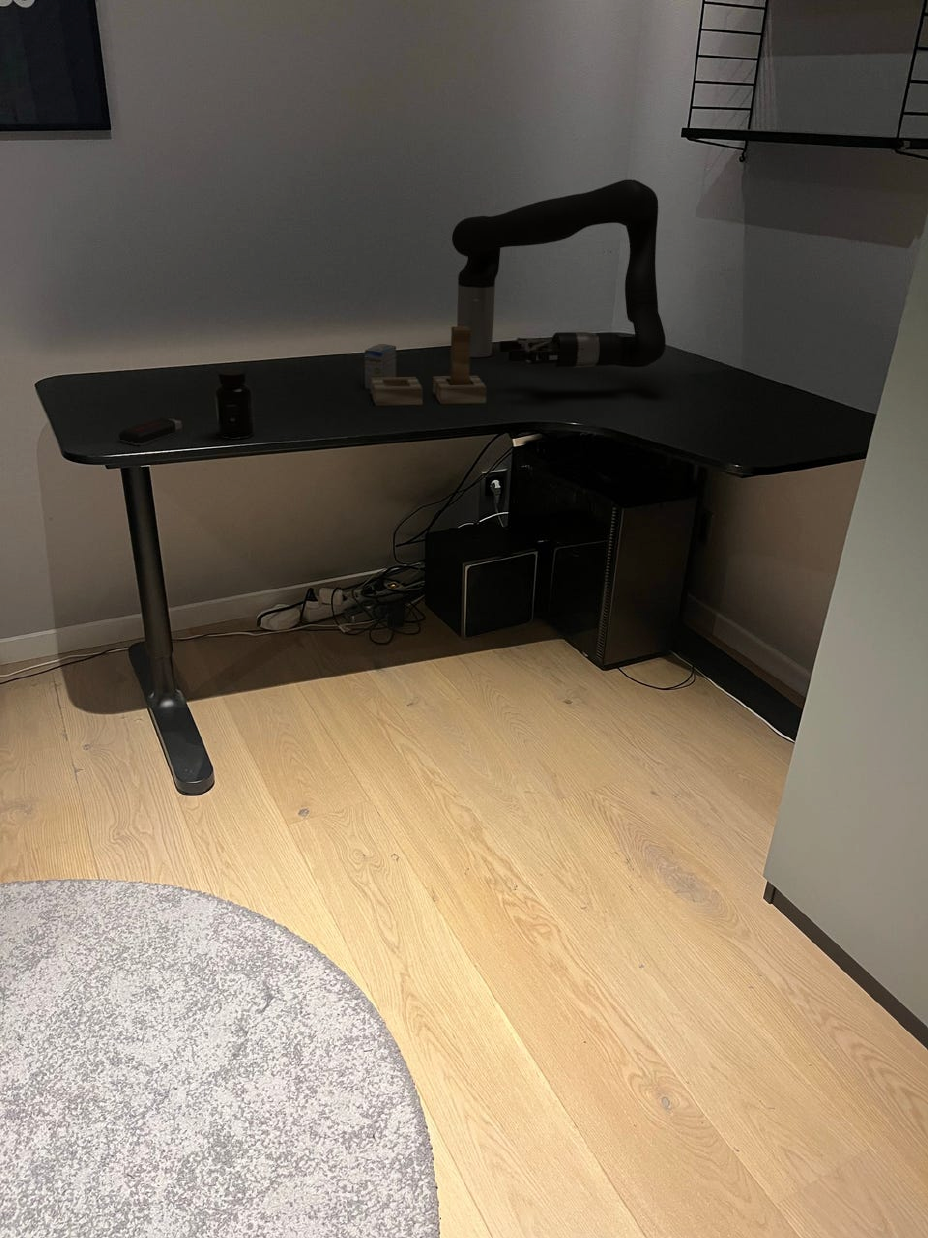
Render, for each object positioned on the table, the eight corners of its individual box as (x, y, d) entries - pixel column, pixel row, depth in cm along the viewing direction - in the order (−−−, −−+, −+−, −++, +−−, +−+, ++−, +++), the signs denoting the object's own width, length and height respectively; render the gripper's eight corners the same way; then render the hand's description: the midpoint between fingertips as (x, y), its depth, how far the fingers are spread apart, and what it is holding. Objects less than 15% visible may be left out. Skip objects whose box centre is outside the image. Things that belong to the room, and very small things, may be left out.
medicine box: (379, 380, 227) (378, 343, 223) (396, 383, 226) (396, 345, 221) (364, 388, 220) (364, 350, 216) (382, 391, 219) (382, 352, 215)
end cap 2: (433, 391, 219) (433, 376, 218) (476, 390, 221) (477, 375, 219) (440, 404, 211) (441, 388, 209) (486, 402, 212) (486, 386, 211)
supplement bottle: (213, 438, 185) (207, 375, 179) (226, 428, 191) (220, 366, 185) (247, 441, 184) (243, 377, 179) (259, 430, 190) (255, 368, 185)
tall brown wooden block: (450, 390, 217) (451, 326, 210) (465, 390, 217) (467, 326, 211) (452, 395, 214) (454, 329, 207) (468, 394, 214) (470, 329, 208)
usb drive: (119, 443, 182) (117, 429, 181) (166, 427, 191) (164, 414, 190) (140, 448, 180) (138, 433, 179) (186, 432, 189) (184, 418, 188)
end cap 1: (371, 393, 217) (370, 377, 215) (415, 392, 218) (415, 376, 217) (376, 405, 208) (376, 389, 206) (422, 404, 210) (422, 388, 208)
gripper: (567, 325, 220) (497, 326, 217) (586, 339, 208) (512, 340, 205) (564, 359, 224) (495, 360, 221) (583, 374, 211) (510, 376, 208)
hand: (503, 350), depth 213 cm, fingers open, 8 cm apart
